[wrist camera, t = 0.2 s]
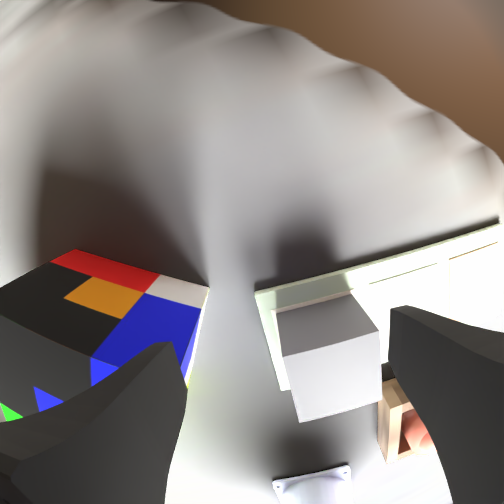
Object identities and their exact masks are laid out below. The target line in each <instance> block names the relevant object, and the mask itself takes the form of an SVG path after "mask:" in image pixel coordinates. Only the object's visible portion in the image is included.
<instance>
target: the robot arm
mask: <svg viewBox="0 0 504 504" xmlns="http://www.w3.org/2000/svg"><path fill="white" fill-rule="evenodd" d="M388 361H389V364H390V366H391V368H392V371H393V373H394V375H395V377H396V380H397V382H398V383H399V385H400V387H401V388H402V390H403V391H404V393H405V395H406V396H407V398H408V399H409V401H410V403H411V404H412V406H413V407H414V409H415V411H416V412H417V414H418V416H419V417H420V419H421V420H422V422H423V424H424V425H425V427H426V429H427V431H428V433H429V435H430V437H431V439H432V441H433V444H434V446H435V449H436V451H437V453H438V456H439V459H440V461H441V464H442V467H443V470H444V473H445V476H446V479H447V482H448V486H449V489H450V493H451V496H452V500H453V504H504V333H502V332H497V331H492V330H487V329H483V328H479V327H476V326H472V325H469V324H465V323H462V322H459V321H456V320H453V319H450V318H447V317H444V316H441V315H438V314H436V313H433V312H430V311H427V310H424V309H421V308H418V307H414V306H411V305H402V306H398V307H393V308H390V325H389V345H388ZM187 391H188V389H187V386H186V383H185V380H184V377H183V374H182V371H181V368H180V365H179V362H178V359H177V356H176V352H175V349H174V346H173V343H172V341H169V342H155V343H153V344H152V345H150V346H148V347H147V348H146V349H144V350H143V351H141V352H140V353H139V354H137V355H136V356H134V357H133V358H132V359H130V360H129V361H128V362H126V363H125V364H124V365H122V366H121V367H120V368H118V369H117V370H116V371H114V372H113V373H111V374H110V375H108V376H107V377H105V378H104V379H102V380H101V381H99V382H98V383H96V384H95V385H93V386H92V387H90V388H89V389H87V390H85V391H83V392H82V393H80V394H78V395H76V396H74V397H72V398H70V399H68V400H67V401H64V402H62V403H60V404H58V405H55V406H53V407H50V408H48V409H45V410H43V411H41V412H38V413H35V414H32V415H29V416H26V417H22V418H18V419H15V420H11V421H6V422H1V423H0V504H164V502H165V493H166V486H167V478H168V473H169V468H170V464H171V460H172V457H173V453H174V450H175V446H176V443H177V439H178V436H179V432H180V429H181V425H182V422H183V418H184V414H185V408H186V400H187ZM273 487H274V489H275V491H276V493H277V495H278V497H279V500H280V502H281V504H352V492H351V475H350V467H349V466H348V465H345V466H341V467H337V468H334V469H330V470H325V471H321V472H317V473H312V474H307V475H302V476H297V477H292V478H286V479H280V480H275V481H273Z"/></svg>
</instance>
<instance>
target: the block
mask: <svg viewBox="0 0 504 504" xmlns="http://www.w3.org/2000/svg"><path fill="white" fill-rule="evenodd" d="M276 319H277V325H278V332H279V339H280V345H281V352H282V358H283V362H284V366H285V370H286V374H287V377H288V381H289V385H290V389H291V393H292V397H293V401H294V405H295V408H296V412H297V416H298V420H299V423H302V422H306V421H311V420H315V419H319V418H323V417H327V416H331V415H334V414H338V413H342V412H345V411H349V410H352V409H356V408H359V407H362V406H365V405H368V404H372V403H375V402H378V401H381V400H382V367H381V346H380V331H379V329H378V328H377V326H376V325H375V324H374V322H373V321H372V320H371V318H370V317H369V316H368V314H367V313H366V312H365V311H364V309H363V308H362V307H361V305H360V304H359V303H358V301H357V300H356V299H355V297H354V296H353V295H352V294H349V295H345V296H342V297H338V298H334V299H331V300H327V301H323V302H319V303H315V304H312V305H308V306H304V307H300V308H296V309H292V310H288V311H283V312H279V313H276Z"/></svg>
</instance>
